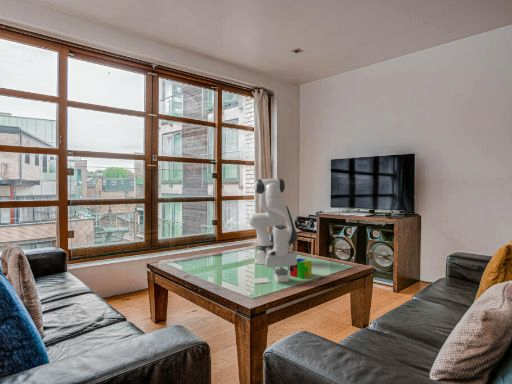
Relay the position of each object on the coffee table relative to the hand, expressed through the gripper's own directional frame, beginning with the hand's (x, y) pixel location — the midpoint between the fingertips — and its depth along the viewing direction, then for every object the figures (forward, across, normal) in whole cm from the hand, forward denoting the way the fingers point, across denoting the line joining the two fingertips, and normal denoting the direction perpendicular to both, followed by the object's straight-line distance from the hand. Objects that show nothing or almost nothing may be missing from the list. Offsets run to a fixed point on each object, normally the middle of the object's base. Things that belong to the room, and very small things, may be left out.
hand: (281, 273), depth 209 cm
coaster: (+4, +13, -2) cm, 14 cm away
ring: (0, 0, 0) cm, 0 cm away
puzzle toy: (+5, -15, -7) cm, 17 cm away
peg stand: (+4, 0, 0) cm, 4 cm away
